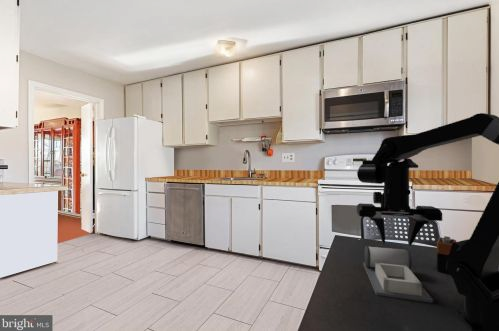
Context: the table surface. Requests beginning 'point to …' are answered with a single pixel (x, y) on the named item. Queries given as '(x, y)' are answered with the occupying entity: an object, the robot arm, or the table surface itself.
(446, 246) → the battery
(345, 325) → the table surface
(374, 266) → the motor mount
